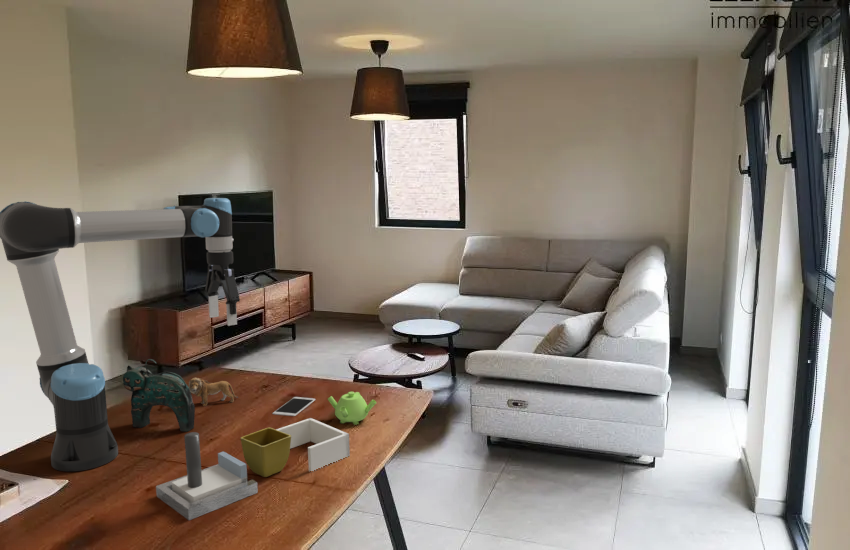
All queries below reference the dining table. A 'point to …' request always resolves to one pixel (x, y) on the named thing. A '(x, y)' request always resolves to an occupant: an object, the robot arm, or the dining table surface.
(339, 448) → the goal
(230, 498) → the rail base
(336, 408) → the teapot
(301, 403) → the smartphone
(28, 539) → the dining table surface
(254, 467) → the flower pot
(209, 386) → the lion figurine
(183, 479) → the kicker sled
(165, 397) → the teal arched figure
